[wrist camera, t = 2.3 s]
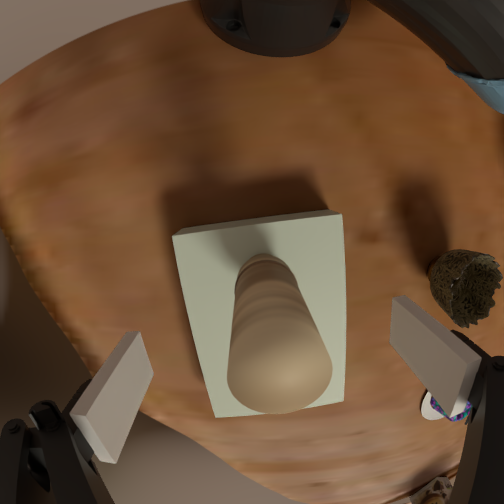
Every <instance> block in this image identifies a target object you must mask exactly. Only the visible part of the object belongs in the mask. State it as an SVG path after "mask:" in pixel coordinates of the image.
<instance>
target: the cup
mask: <svg viewBox="0 0 504 504" xmlns="http://www.w3.org/2000/svg"><path fill="white" fill-rule="evenodd" d="M494 259H495V258H494V257H492V256H490V255H489V254H483V253H479V252H474V251H469V250H461V249H458V250H451V251H448V252H446V253H445V254H443V255H442V256H438V257H436V258H434V259H433V260H432V261H431V263H430V265H429V267H428V279H429V281H430V289H431V292H432V295H433V297H434V299H435V300H436V302H437V303H438V305H439V306H440V307H441V308H442V309H443V310H444V311H445V312H446V313H447V314H448V316H449V317H450V318H451V319H452V320H453V321H454V323H455V324H458V325H459V326H460V327H461V328H464V327H467V328H469V324H470V323H471V324H475V325H478V323H477V320H478V319H484V318H486V317H488V316H489V311H490V308H492V307H494V305H495V301H494V300H493V299H492V296H493V294H494V289H496V288H498V289H500V288H501V286H500V284H499V283H498V282H500V281H501V280H502V278H503V277H502V274H501V272H500V271H499V270H498V269H497V268H498V267H500V265H499V264H498V263H497V262H495V261H493V260H494Z"/></svg>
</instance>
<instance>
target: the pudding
mask: <svg viewBox="0 0 504 504" xmlns="http://www.w3.org/2000/svg"><path fill="white" fill-rule="evenodd" d="M431 396H432V395H431V393H430V392H429V391H428V392H427V394H426V396H425V398H424V400H423V403H422V407H421V412H422V415H423V417H424V418H426V419H428V420H436V419H440V418H443V417H446V418H447V419H449V420H450V421H457V420H462V419H463V418H465V417H466V416H467V415H469V413H470V410H471V408H472V405H471V404H470V403H469V401H467V404H466V407H465V409H464V412H462V413H460V414H457V415H455V416H453V417H451V418H449V417H448V415H447V414H446V413H445V412H444V410H443V409H442V408H441V406H440V405H439V404H438V402H437V401H436V400H435V399H434V397H432V398H431ZM430 400H431V401H430ZM430 403H431V405H432V406H433V408H434V409H435V410H434V409H433V408H432V407H431V405H430Z"/></svg>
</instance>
